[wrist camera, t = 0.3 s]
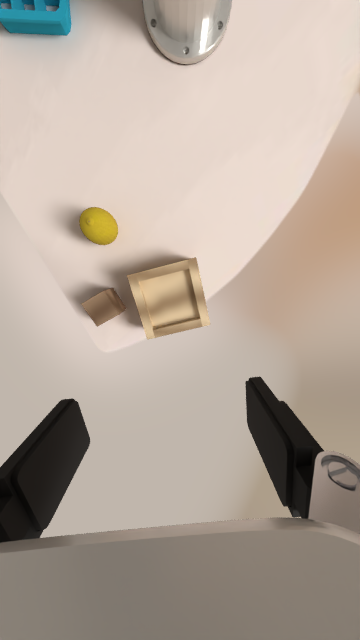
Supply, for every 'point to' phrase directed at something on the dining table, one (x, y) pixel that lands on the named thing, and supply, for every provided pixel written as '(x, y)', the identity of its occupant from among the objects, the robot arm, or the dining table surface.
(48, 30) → the ice cube tray
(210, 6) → the robot arm
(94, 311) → the walnut cube
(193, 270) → the oak tray
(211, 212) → the dining table surface
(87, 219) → the lemon
